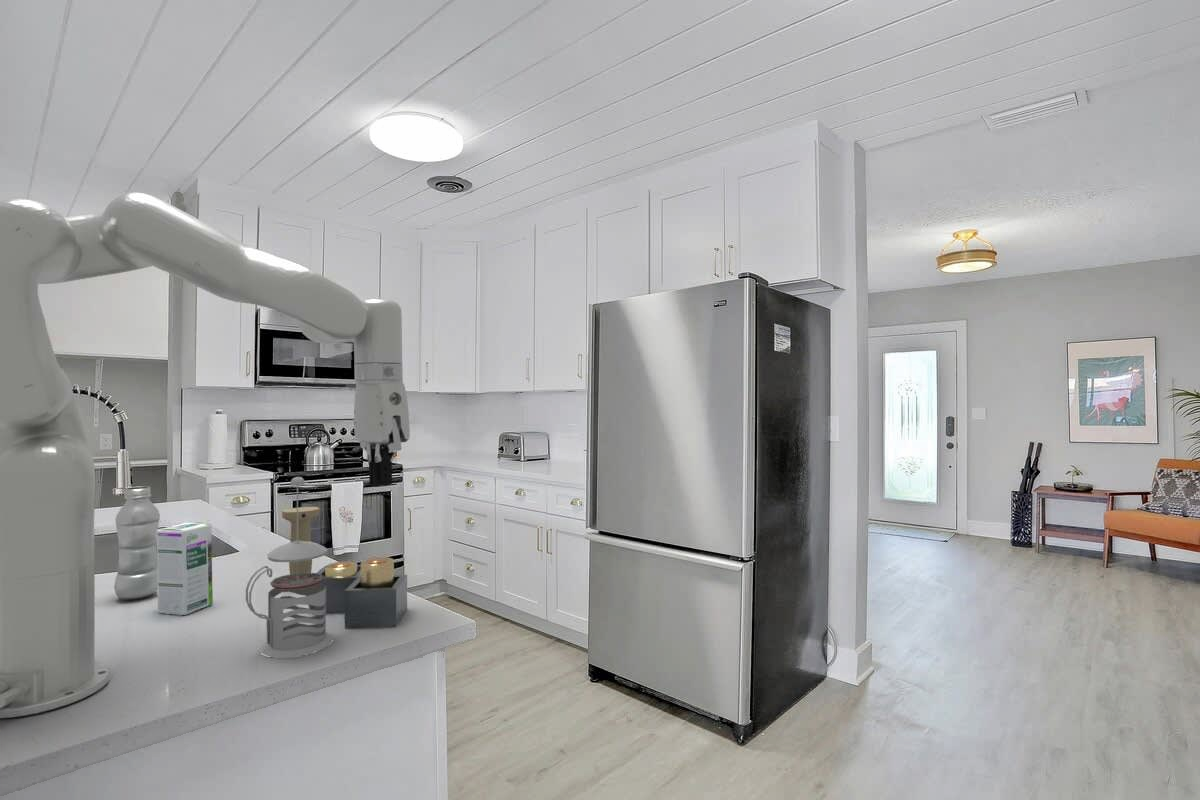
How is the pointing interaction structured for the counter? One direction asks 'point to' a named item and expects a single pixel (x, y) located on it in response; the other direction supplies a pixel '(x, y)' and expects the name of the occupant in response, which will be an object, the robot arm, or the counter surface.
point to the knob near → (377, 573)
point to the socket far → (336, 590)
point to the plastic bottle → (137, 545)
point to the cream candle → (341, 569)
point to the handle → (300, 533)
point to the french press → (294, 602)
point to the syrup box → (184, 568)
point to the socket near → (375, 604)
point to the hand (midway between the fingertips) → (380, 485)
